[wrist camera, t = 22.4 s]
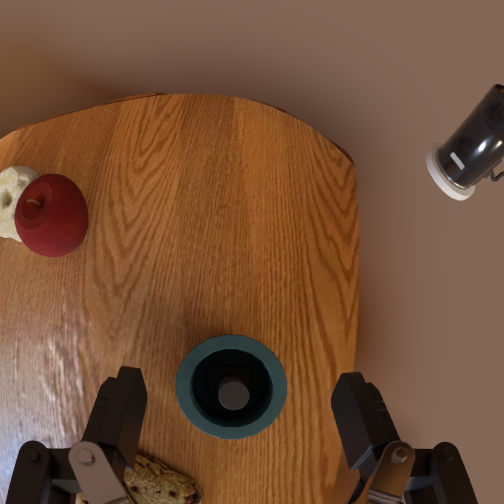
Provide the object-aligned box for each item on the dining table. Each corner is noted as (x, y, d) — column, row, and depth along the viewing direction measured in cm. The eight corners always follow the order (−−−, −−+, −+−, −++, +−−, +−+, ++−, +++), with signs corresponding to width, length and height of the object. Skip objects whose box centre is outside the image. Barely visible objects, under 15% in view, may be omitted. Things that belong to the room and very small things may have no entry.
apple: (95, 193, 36) (68, 149, 27) (106, 255, 33) (72, 220, 24) (41, 216, 34) (6, 181, 25) (46, 278, 31) (2, 252, 22)
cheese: (74, 207, 37) (28, 128, 30) (53, 224, 30) (1, 132, 24) (19, 256, 38) (-22, 188, 31) (-2, 277, 31) (-48, 200, 25)
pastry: (55, 440, 24) (43, 445, 21) (177, 425, 28) (173, 432, 25) (108, 543, 19) (101, 553, 16) (228, 535, 22) (228, 547, 20)
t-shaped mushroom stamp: (249, 366, 30) (268, 374, 18) (249, 392, 29) (267, 416, 17) (208, 364, 30) (200, 372, 18) (208, 391, 29) (199, 415, 17)
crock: (268, 341, 32) (287, 335, 23) (266, 414, 29) (285, 438, 20) (190, 338, 31) (177, 331, 22) (189, 412, 28) (175, 435, 19)
